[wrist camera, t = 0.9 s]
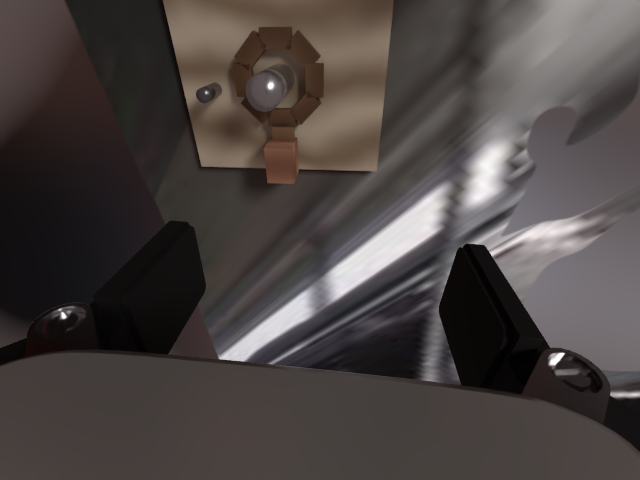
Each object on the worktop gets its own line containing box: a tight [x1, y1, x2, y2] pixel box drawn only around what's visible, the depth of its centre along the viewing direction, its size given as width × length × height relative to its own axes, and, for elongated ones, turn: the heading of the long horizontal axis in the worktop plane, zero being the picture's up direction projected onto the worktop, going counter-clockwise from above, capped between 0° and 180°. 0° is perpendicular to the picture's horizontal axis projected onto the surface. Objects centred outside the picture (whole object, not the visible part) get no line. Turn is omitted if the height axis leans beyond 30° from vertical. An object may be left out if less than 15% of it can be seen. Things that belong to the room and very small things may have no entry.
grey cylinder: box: [196, 63, 295, 112], centre depth 30 cm, size 3×10×8 cm, turn 90°
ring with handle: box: [232, 27, 324, 184], centre depth 33 cm, size 15×9×4 cm, turn 0°
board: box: [163, 0, 394, 171], centre depth 34 cm, size 20×22×1 cm
